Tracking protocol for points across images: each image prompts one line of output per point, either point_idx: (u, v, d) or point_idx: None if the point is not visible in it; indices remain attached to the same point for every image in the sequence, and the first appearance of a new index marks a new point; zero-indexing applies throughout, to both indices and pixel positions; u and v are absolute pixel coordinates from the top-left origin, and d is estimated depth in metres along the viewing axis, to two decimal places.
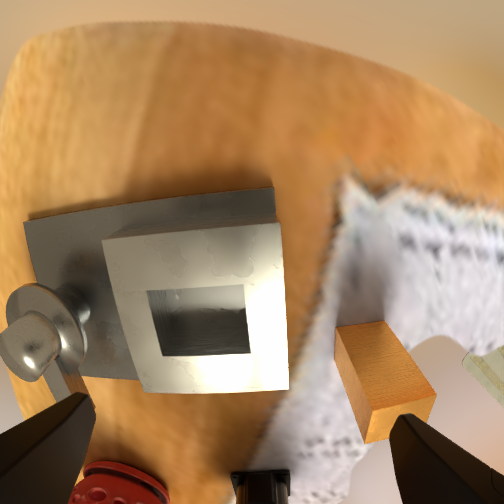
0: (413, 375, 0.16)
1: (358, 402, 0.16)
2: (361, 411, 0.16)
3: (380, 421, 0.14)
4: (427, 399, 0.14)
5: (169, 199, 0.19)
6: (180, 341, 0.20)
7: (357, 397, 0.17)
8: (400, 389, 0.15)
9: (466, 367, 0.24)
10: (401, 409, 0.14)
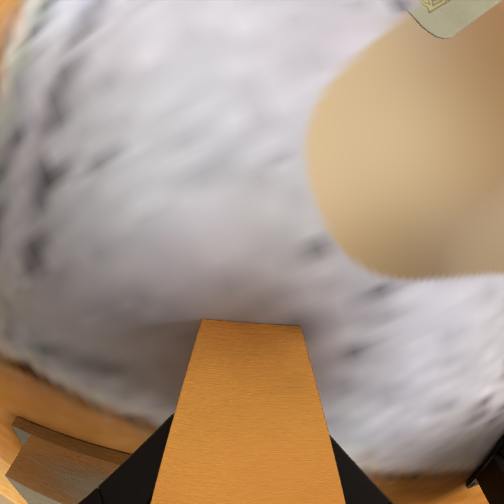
0: None
1: None
2: None
3: None
4: None
5: None
6: None
7: None
8: None
9: (458, 26, 0.07)
10: None
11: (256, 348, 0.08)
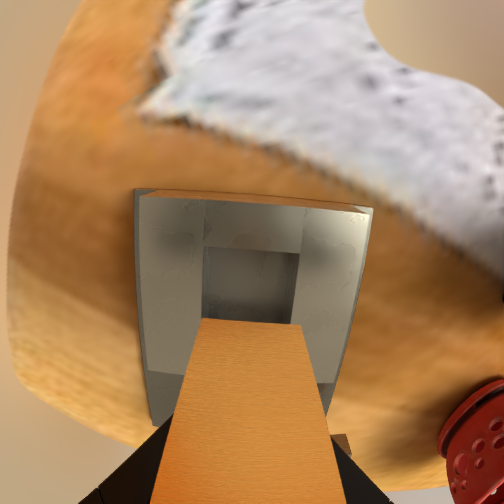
0: None
1: None
2: None
3: None
4: None
5: (137, 292, 0.19)
6: (284, 323, 0.18)
7: None
8: None
9: None
10: None
11: (256, 347, 0.08)
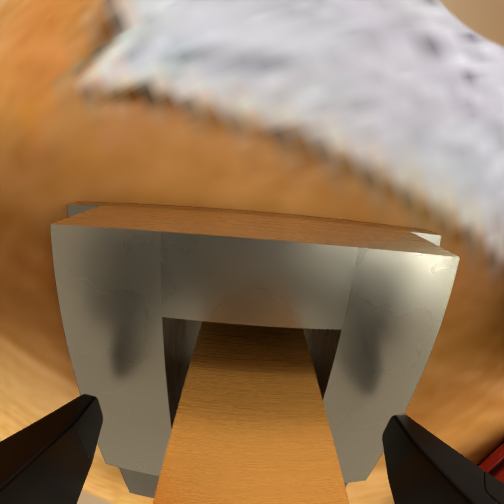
0: None
1: None
2: None
3: None
4: None
5: None
6: None
7: None
8: None
9: None
10: None
11: None
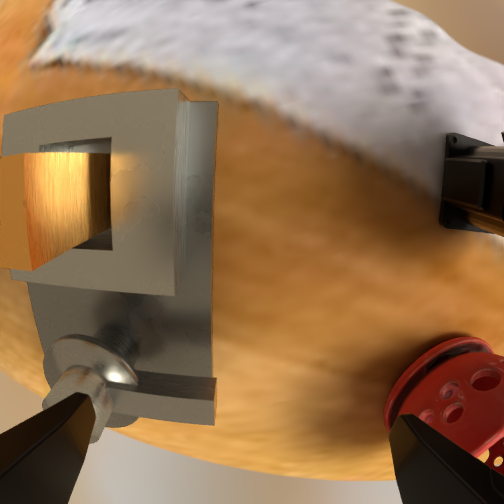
0: None
1: None
2: None
3: None
4: None
5: None
6: None
7: None
8: None
9: None
10: None
11: None
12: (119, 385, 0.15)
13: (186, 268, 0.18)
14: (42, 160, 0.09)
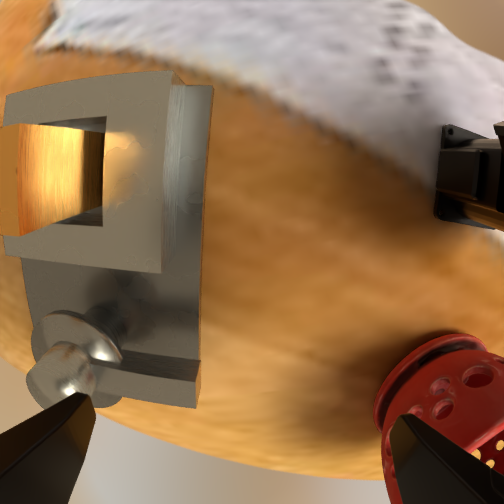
0: None
1: None
2: None
3: None
4: None
5: None
6: None
7: None
8: None
9: None
10: None
11: None
12: (103, 362, 0.15)
13: (175, 249, 0.18)
14: (36, 132, 0.09)
